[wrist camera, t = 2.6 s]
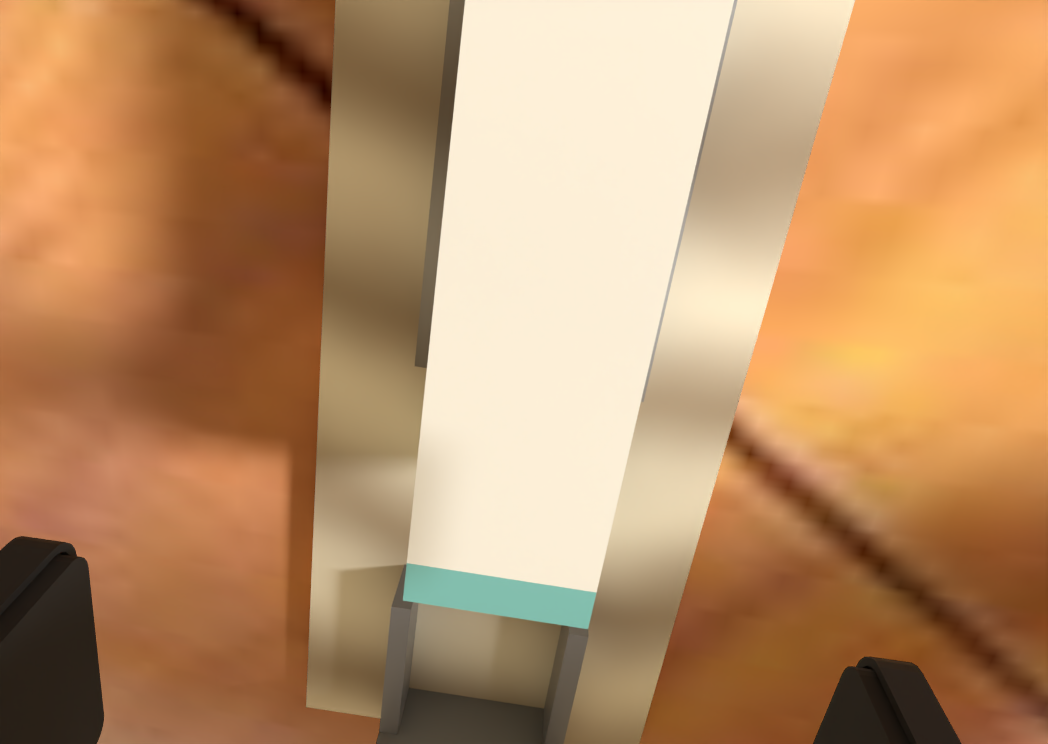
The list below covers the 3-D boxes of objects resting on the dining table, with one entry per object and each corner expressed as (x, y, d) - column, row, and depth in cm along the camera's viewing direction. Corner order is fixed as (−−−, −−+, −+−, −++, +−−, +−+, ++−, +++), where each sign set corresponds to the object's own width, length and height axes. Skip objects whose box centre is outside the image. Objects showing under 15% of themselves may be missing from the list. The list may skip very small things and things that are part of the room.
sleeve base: (363, -343, 17) (321, -413, 14) (913, -254, 17) (979, -305, 14) (314, 685, 29) (287, 754, 27) (633, 735, 29) (639, 808, 27)
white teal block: (523, -162, 17) (492, -267, 11) (706, -132, 17) (785, -220, 11) (450, 440, 23) (402, 600, 17) (584, 461, 23) (588, 628, 17)
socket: (404, 564, 26) (367, 683, 21) (587, 592, 26) (590, 717, 21) (389, 709, 28) (353, 842, 24) (555, 735, 28) (551, 873, 24)
